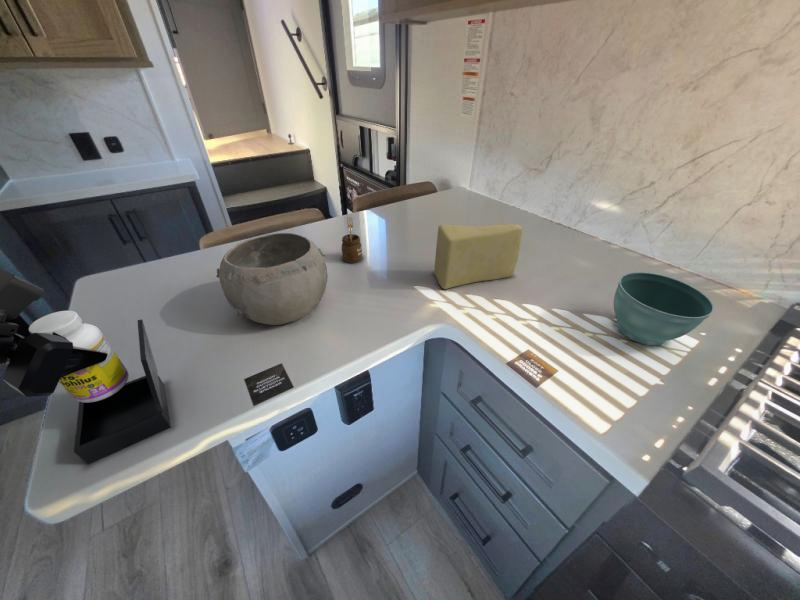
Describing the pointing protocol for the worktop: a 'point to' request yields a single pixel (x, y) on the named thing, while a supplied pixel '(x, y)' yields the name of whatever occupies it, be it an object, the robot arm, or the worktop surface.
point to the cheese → (476, 253)
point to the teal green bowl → (658, 307)
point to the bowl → (274, 278)
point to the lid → (149, 366)
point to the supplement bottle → (68, 324)
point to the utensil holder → (351, 246)
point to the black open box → (119, 420)
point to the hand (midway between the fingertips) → (91, 349)
